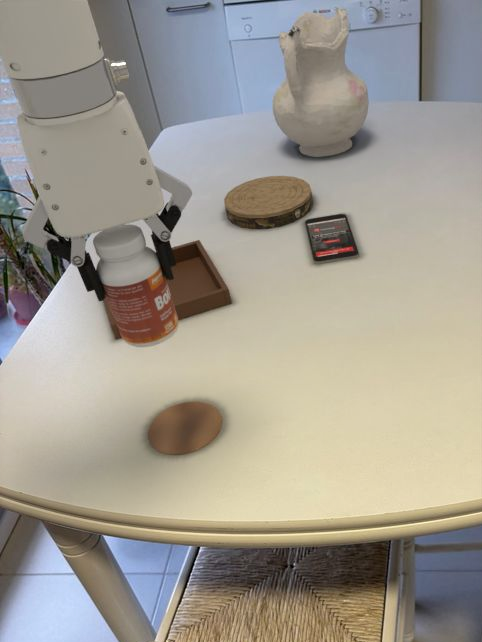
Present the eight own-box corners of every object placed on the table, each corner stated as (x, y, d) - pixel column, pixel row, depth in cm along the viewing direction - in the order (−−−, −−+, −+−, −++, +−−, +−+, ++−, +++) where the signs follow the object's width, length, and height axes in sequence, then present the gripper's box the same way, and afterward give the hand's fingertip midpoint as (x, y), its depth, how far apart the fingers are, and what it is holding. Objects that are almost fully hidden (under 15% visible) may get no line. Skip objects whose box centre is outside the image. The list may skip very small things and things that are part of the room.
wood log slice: (299, 184, 125) (297, 168, 123) (324, 217, 114) (322, 201, 112) (219, 203, 123) (216, 188, 121) (237, 239, 112) (233, 223, 110)
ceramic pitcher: (361, 175, 128) (363, 31, 110) (264, 172, 130) (251, 31, 113) (371, 134, 143) (374, 1, 125) (285, 132, 145) (276, 2, 128)
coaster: (157, 467, 74) (155, 463, 74) (142, 419, 80) (141, 416, 80) (231, 440, 76) (230, 437, 75) (212, 396, 82) (210, 392, 82)
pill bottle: (179, 344, 66) (147, 245, 59) (120, 354, 66) (80, 257, 58) (181, 310, 71) (151, 215, 63) (125, 320, 71) (88, 226, 63)
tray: (116, 342, 93) (110, 325, 91) (100, 285, 105) (93, 270, 103) (232, 305, 97) (228, 288, 95) (203, 255, 109) (199, 239, 107)
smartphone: (313, 262, 102) (304, 219, 112) (314, 266, 102) (304, 223, 113) (359, 254, 102) (345, 212, 112) (360, 258, 102) (346, 216, 113)
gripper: (160, 56, 56) (207, 244, 69) (-45, 103, 53) (44, 292, 65) (179, 76, 51) (227, 276, 63) (-47, 130, 48) (50, 329, 60)
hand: (134, 282), depth 64 cm, fingers closed on pill bottle, 6 cm apart
